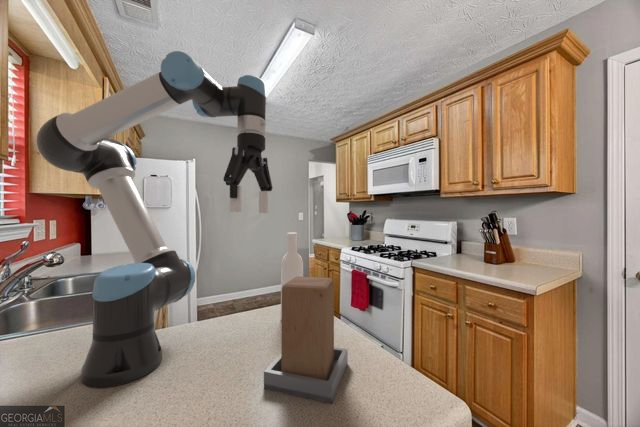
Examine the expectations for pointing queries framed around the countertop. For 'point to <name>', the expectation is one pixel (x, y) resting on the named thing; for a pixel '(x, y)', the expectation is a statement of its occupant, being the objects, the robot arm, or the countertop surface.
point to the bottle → (291, 262)
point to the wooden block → (308, 327)
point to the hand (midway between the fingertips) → (250, 212)
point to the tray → (307, 379)
